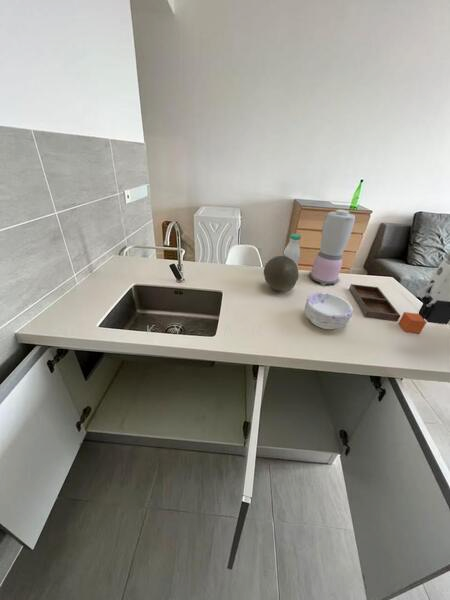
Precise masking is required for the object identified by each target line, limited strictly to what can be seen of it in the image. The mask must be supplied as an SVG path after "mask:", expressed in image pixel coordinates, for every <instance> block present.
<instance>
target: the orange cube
mask: <svg viewBox="0 0 450 600" xmlns="http://www.w3.org/2000/svg"><path fill="white" fill-rule="evenodd" d="M400 317H401V318H399V320H398V325H399V326H400V327H401V329H402V330H403V331H404V332H405V333H412V334H421V332H422V331H423V329H424V328H425V326H426V324H427V323H428V322H427V321H426V320H425V319H423V318H422V317H421V316H420V315H419V313H416V312H407V311H404V312H403V314H402V315H401V316H400Z"/></svg>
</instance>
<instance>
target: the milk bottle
mask: <svg viewBox="0 0 450 600" xmlns="http://www.w3.org/2000/svg"><path fill="white" fill-rule="evenodd" d="M301 237H302V236H301V235H300V234H298V233H291V234H290V236H289V242H288V243H287V245H286V246H285V249H284V250H283V255H282V256H285V257H288V258H290V259H292V260H293V261H294V262H295V263H296V265H297V268H298V267H299V263H300V258H301V247H300V241H301Z"/></svg>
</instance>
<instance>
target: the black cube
mask: <svg viewBox="0 0 450 600" xmlns="http://www.w3.org/2000/svg"><path fill="white" fill-rule="evenodd" d="M431 299H432V298H431ZM431 299H430V300H431ZM430 300H429V301H430ZM431 307H432V311H431V312H430V314H429V316H428V317H427V319H424V320H425V321H426V322H427V323H431V324H440V325H448V324H449V322H450V304H449V302H448V301H439V300H437V301H436V302H435V303H434V304H433V305H432V306H431Z"/></svg>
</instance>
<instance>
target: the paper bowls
mask: <svg viewBox="0 0 450 600" xmlns="http://www.w3.org/2000/svg"><path fill="white" fill-rule="evenodd" d="M303 312H304V315H305V316H306V318H307V319H308V320H309V321H310V322H311V323H312V324H313V325H314V326H316V327H317V328H320V329H324V330H335V329H338V328H344V327H345V326H347V325H348V324H349V322H350V320H351V318H352V315H353V313H354V308H353V306H352V304H351V303H350V302H349V301H347V300H346V299H344V298H343V297H341V296H339V295H336V294H333V293H328V292H314V293H312V294H311V293H310V295H308V297H307V298H306V301H305V305H304V309H303Z"/></svg>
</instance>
